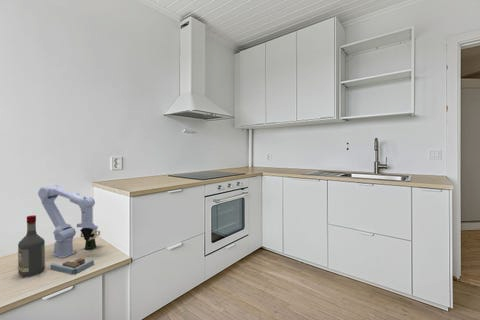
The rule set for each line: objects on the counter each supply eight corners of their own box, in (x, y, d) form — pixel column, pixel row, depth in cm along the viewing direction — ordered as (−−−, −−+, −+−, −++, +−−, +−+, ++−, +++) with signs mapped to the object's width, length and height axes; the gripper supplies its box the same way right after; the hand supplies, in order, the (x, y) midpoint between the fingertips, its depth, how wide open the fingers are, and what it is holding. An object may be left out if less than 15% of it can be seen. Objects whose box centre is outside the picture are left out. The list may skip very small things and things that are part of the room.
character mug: (79, 251, 147) (79, 231, 146) (82, 247, 153) (82, 228, 153) (99, 249, 151) (99, 229, 151) (100, 244, 158) (100, 226, 157)
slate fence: (50, 269, 125) (50, 264, 125) (71, 259, 136) (71, 255, 136) (73, 274, 120) (73, 270, 120) (93, 264, 131) (93, 260, 131)
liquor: (39, 266, 127) (38, 213, 126) (46, 271, 123) (45, 215, 122) (17, 273, 119) (16, 216, 118) (23, 279, 115) (23, 219, 114)
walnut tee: (77, 262, 132) (76, 257, 132) (88, 265, 129) (88, 259, 129) (62, 269, 124) (62, 263, 124) (74, 272, 122) (74, 266, 122)
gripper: (101, 217, 142) (101, 239, 143) (84, 215, 146) (84, 236, 147) (91, 220, 136) (91, 243, 136) (73, 218, 140) (73, 240, 140)
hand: (87, 239), depth 141 cm, fingers closed
